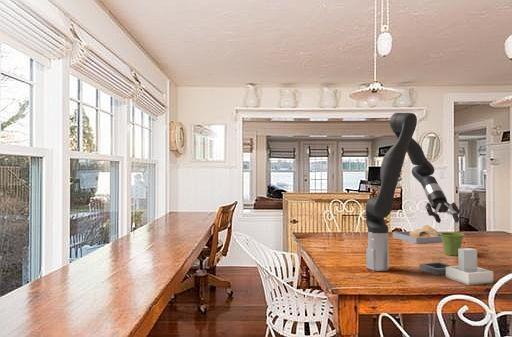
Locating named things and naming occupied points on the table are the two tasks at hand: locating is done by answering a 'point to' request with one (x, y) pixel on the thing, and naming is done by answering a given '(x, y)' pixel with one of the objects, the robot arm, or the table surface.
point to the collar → (434, 268)
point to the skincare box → (467, 260)
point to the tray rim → (406, 237)
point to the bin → (469, 275)
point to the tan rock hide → (424, 232)
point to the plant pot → (451, 242)
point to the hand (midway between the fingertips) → (448, 221)
